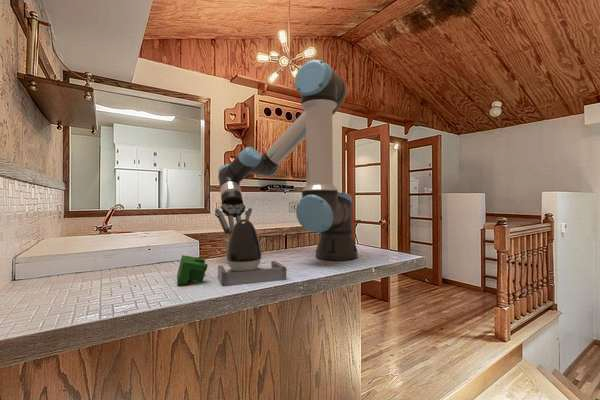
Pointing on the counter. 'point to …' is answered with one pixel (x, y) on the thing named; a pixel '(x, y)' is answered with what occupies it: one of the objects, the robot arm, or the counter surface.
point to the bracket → (252, 275)
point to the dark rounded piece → (243, 247)
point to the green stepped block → (191, 269)
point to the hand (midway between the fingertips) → (239, 249)
